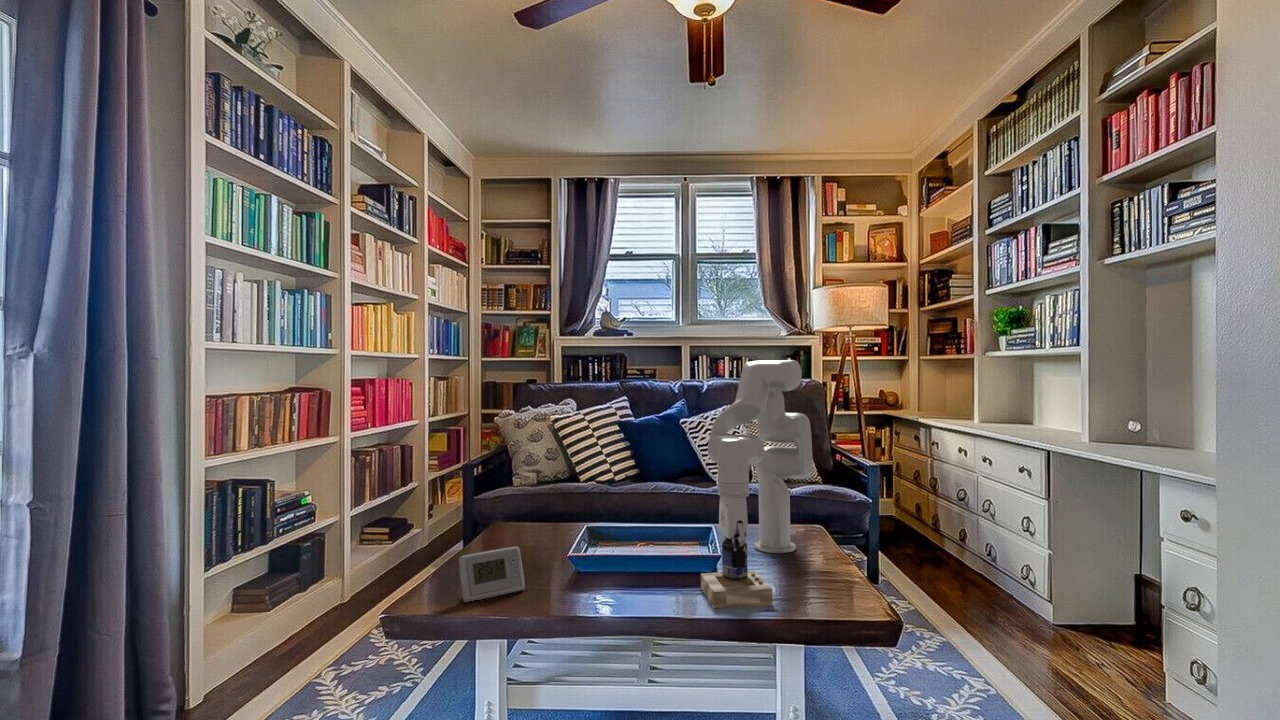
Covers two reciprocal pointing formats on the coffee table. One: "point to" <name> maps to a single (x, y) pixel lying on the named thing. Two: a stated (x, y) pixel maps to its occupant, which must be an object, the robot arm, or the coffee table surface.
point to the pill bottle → (727, 568)
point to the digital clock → (491, 573)
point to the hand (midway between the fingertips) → (734, 562)
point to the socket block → (736, 591)
